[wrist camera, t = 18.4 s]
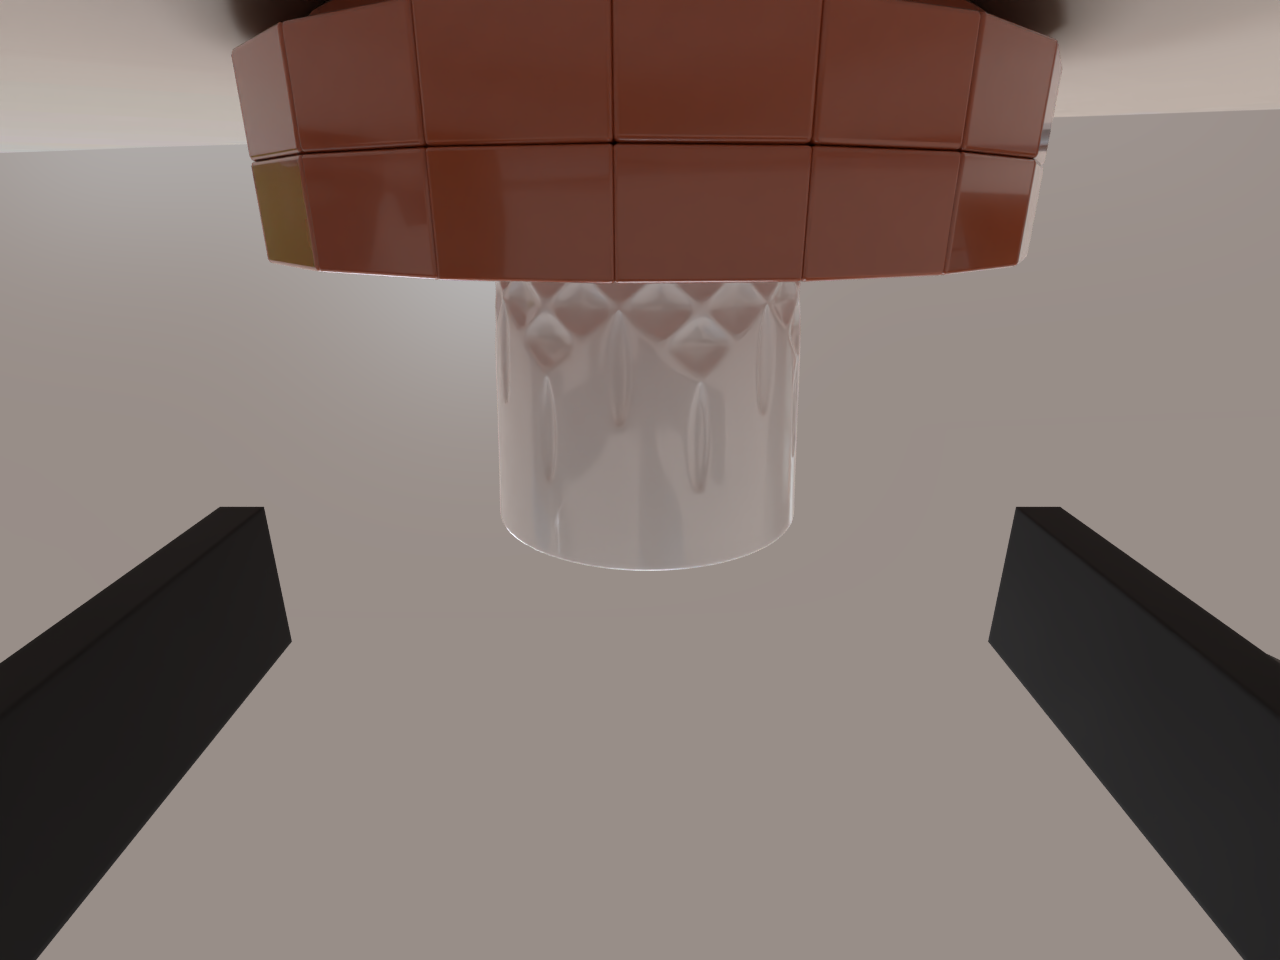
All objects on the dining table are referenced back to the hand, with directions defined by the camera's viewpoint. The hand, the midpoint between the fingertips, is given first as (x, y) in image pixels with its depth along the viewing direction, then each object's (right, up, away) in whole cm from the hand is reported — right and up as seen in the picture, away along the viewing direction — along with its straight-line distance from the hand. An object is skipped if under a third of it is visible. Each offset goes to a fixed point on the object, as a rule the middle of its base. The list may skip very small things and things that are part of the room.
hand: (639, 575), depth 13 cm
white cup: (0, +11, +3) cm, 11 cm away
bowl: (0, +11, +3) cm, 11 cm away
